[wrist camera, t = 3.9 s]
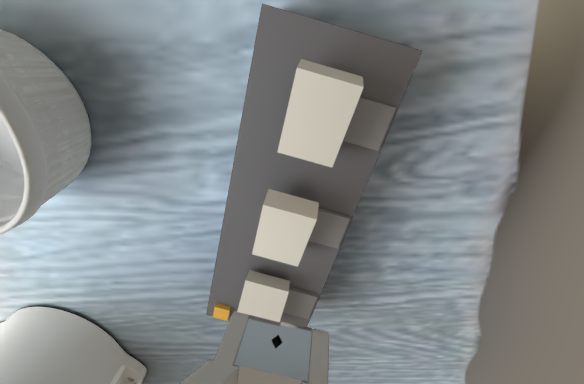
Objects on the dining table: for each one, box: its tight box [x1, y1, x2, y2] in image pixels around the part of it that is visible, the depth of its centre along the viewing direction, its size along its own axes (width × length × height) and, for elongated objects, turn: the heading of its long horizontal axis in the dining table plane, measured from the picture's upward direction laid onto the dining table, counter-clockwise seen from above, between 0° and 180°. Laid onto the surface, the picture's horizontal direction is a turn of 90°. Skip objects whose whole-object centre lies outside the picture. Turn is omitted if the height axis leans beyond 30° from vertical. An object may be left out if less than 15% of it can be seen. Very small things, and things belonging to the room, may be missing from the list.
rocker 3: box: [277, 59, 364, 168], centre depth 15 cm, size 4×3×1 cm
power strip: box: [207, 4, 422, 327], centre depth 22 cm, size 27×8×5 cm, turn 165°
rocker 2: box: [237, 270, 290, 322], centre depth 21 cm, size 4×3×1 cm
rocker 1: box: [252, 189, 319, 267], centre depth 18 cm, size 4×3×1 cm
